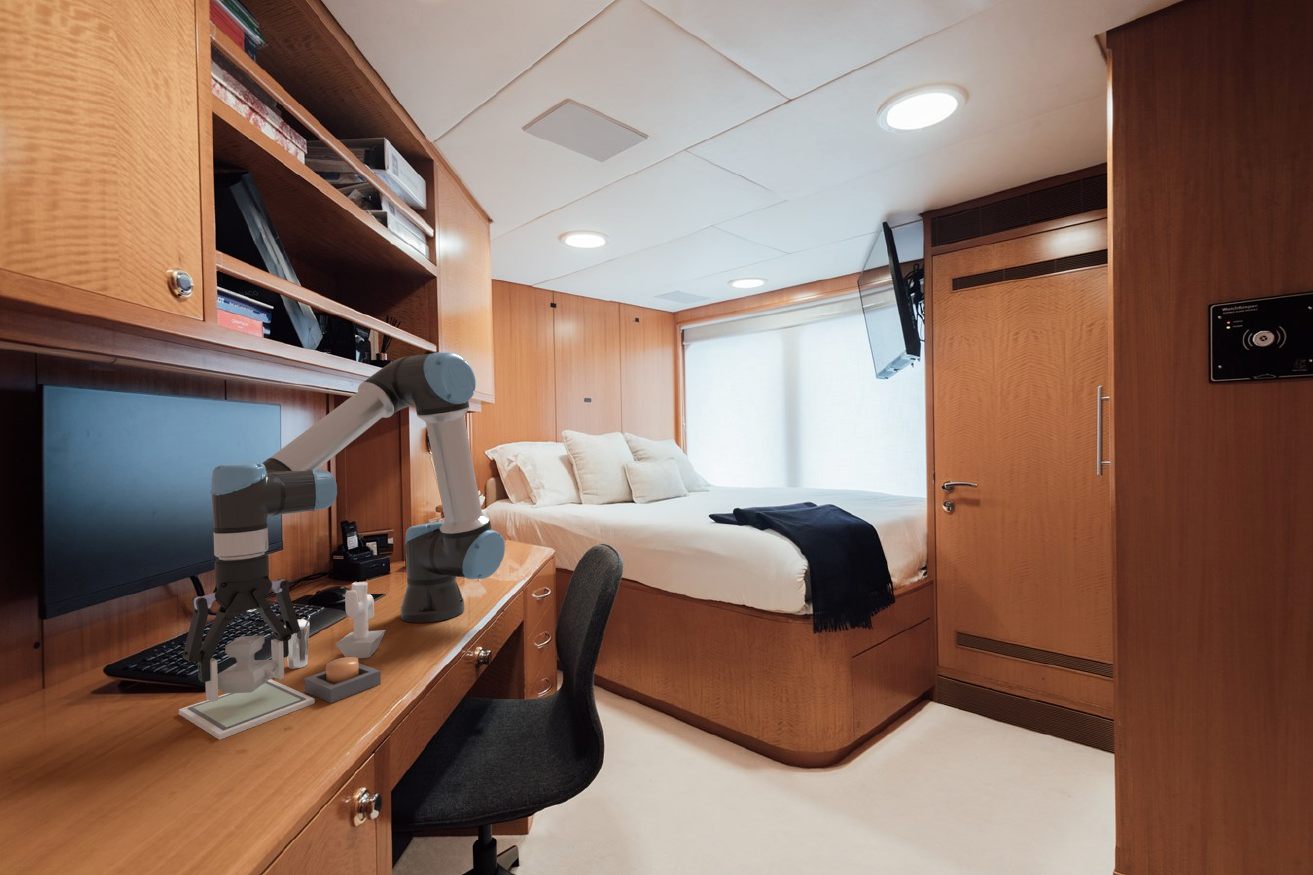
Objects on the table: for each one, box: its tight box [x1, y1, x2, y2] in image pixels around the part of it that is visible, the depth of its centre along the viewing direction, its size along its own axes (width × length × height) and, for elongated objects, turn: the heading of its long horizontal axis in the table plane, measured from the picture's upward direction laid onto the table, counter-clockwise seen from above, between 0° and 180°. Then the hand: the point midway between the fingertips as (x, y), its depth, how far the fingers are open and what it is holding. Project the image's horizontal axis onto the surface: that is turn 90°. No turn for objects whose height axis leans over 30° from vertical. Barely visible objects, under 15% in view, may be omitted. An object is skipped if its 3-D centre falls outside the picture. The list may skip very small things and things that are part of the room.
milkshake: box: [283, 616, 311, 670], centre depth 119 cm, size 4×5×10 cm
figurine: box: [335, 581, 387, 659], centre depth 125 cm, size 7×9×15 cm
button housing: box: [303, 662, 382, 704], centre depth 109 cm, size 9×9×2 cm
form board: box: [178, 678, 316, 741], centre depth 101 cm, size 14×16×1 cm
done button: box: [325, 656, 359, 685], centre depth 109 cm, size 5×5×3 cm
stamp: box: [217, 634, 277, 694], centre depth 101 cm, size 9×7×8 cm
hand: (246, 687), depth 101 cm, fingers closed on stamp, 9 cm apart
